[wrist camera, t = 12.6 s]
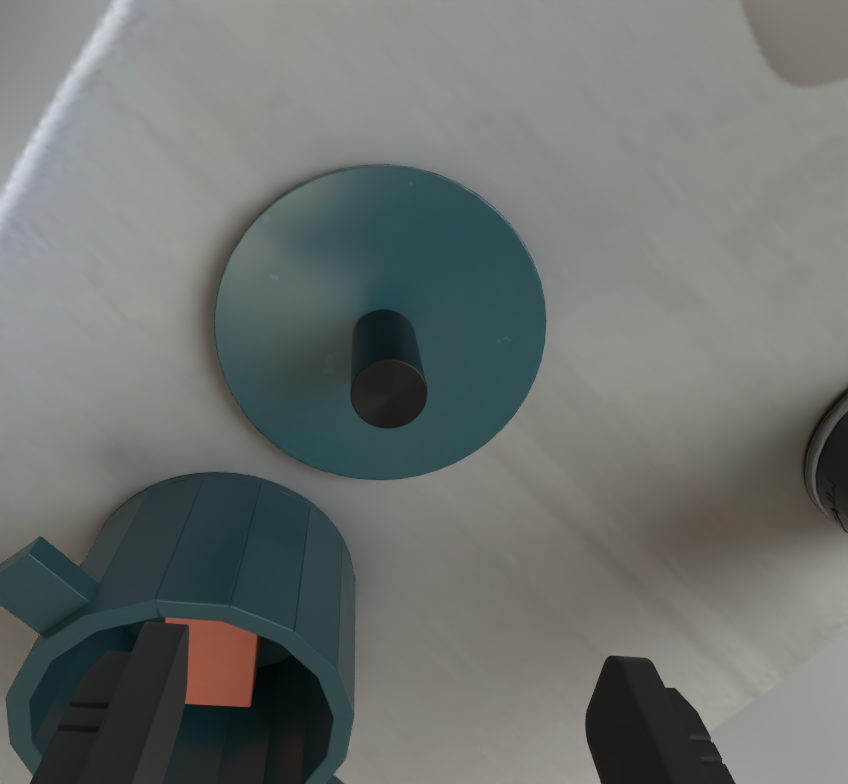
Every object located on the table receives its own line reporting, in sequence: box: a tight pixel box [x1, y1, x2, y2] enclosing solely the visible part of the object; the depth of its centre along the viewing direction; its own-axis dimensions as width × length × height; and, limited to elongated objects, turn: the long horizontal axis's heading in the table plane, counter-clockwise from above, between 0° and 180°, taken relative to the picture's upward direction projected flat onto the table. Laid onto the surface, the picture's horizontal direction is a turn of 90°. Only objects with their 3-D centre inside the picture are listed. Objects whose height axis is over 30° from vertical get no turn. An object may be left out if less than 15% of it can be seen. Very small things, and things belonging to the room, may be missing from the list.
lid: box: [214, 164, 546, 480], centre depth 25 cm, size 14×14×7 cm
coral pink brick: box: [165, 617, 262, 707], centre depth 31 cm, size 8×4×4 cm, turn 170°
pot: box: [0, 472, 356, 784], centre depth 29 cm, size 13×18×8 cm
